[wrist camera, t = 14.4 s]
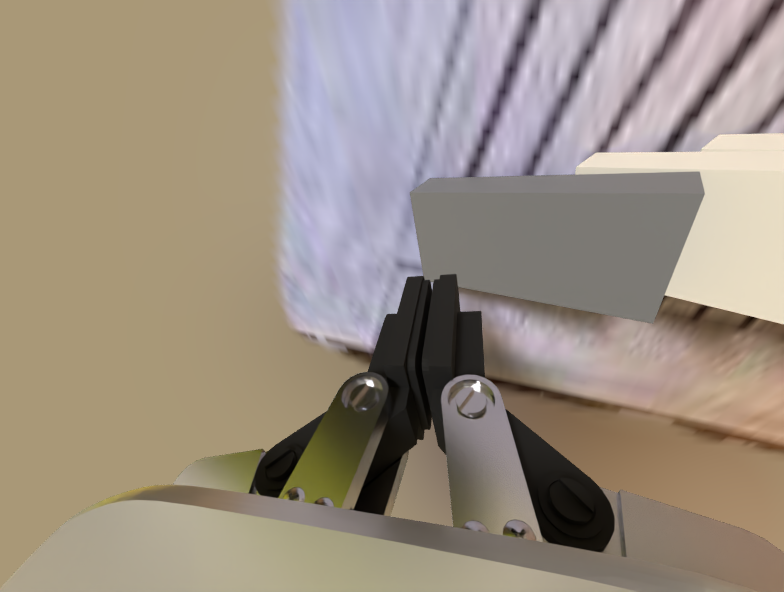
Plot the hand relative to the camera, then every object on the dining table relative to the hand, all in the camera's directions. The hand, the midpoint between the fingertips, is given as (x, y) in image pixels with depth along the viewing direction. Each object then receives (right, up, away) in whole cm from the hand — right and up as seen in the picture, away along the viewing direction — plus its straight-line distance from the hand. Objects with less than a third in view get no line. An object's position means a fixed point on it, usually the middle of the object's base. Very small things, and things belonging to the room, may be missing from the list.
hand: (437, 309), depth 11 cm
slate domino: (0, +4, +5) cm, 7 cm away
